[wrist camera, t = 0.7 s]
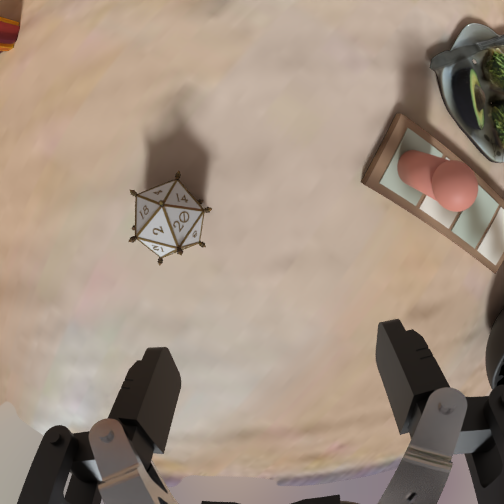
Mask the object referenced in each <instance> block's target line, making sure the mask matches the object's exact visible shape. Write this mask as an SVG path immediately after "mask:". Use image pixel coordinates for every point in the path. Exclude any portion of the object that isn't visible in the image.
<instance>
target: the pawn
mask: <svg viewBox="0 0 504 504" xmlns="http://www.w3.org/2000/svg"><path fill="white" fill-rule="evenodd" d="M397 171H398V175H399V177H400V179H401V180H402V181H403V182H404V183H405V184H407V185H409V186H411V187H413V188H414V189H416V190H418V191H420V192H422V193H424V194H425V195H427V196H429V197H431V198H432V199H434V200H436V201H437V202H438V203H439V204H440V205H441V206H442V207H444V208H445V209H447V210H449V211H453V212H460V211H464V210H466V209H468V208H469V207H470V206H471V205H472V204H473V203H474V201H475V200H476V197H477V194H478V182H477V178H476V176H475V174H474V172H473V171H472V169H471V168H470V167H469V166H468V165H466V164H465V163H463V162H460V161H456V160H447V159H444V158H441V157H437V156H434V155H431V154H427V153H424V152H420V151H417V150H409V151H406V152H405V153H403V154H402V156H401V157H400V158H399V161H398V165H397Z"/></svg>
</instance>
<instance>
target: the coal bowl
mask: <svg viewBox="0 0 504 504" xmlns="http://www.w3.org/2000/svg"><path fill="white" fill-rule="evenodd" d="M486 371H487V376H488V380H489V383H490V386H491V388H492V390H493V389H494V388H495V387H497V386H499V385H504V309H503V310H502V312H501V313H500V314H499V316H498V318H497V319H496V321H495V323H494V325H493V327H492V329H491V332H490V335H489V338H488V342H487V347H486Z"/></svg>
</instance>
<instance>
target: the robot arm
mask: <svg viewBox="0 0 504 504" xmlns="http://www.w3.org/2000/svg"><path fill="white" fill-rule="evenodd" d="M376 363H377V367H378V370H379V373H380V376H381V378H382V381H383V384H384V387H385V390H386V393H387V396H388V399H389V402H390V405H391V408H392V411H393V414H394V417H395V420H396V423H397V426H398V430H399V433H400V435H401V434H405V433H408V432H409V433H410V436H411V442H410V444H409V446H408V448H407V450H406V452H405V454H404V456H403V458H402V460H401V462H400V464H399V466H398V468H397V470H396V472H395V474H394V476H393V478H392V480H391V481H390V483H389V485H388V487H387V488H386V490H385V492H384V494H383V495H382V497H381V499H380V500H379V502H378V504H437V502H438V500H439V497H440V495H441V493H442V491H443V488H444V486H445V483H446V481H447V479H448V476H449V473H450V471H451V468H452V462H451V459H452V456H453V454H465V457H466V460H467V463H468V467H469V470H470V474H471V477H472V481H473V484H474V489H475V493H476V496H477V501H478V504H504V385H499V386H497V387H495V388H494V389H493V390H492V392H491V393H490V395H489V396H483V397H465V396H464V395H463V394H462V393H461V392H460V391H459V390H457V389H454V388H450V386H449V384H448V382H447V380H446V379H445V377H444V375H443V373H442V371H441V369H440V367H439V365H438V363H437V362H436V360H435V358H434V357H433V354H432V352H431V351H430V349H428V345H427V344H426V342H425V340H424V338H423V337H422V336H421V335H420V334H418V333H417V332H416V331H414V330H413V329H412V330H408V331H406V330H405V329H404V327H403V325H402V323H401V321H400V320H399V319H395V320H390V321H385V322H380V323H379V325H378V334H377V344H376ZM180 389H181V377H180V373H179V371H178V369H177V367H176V365H175V362H174V360H173V358H172V356H171V354H170V351H169V349H168V348H167V347H155V348H147V350H146V352H145V354H144V356H143V358H142V360H138V361H137V362H136V363H135V364H134V365H133V366H132V367H131V368H130V369H129V371H128V373H127V375H126V377H125V381H124V382H123V384H122V386H121V389H120V391H119V393H118V396H117V398H116V400H115V403H114V405H113V407H112V410H111V412H110V414H109V417H108V419H103V420H100V421H98V422H97V423H96V424H94V425H93V427H92V428H91V430H90V431H88V432H81V433H74V434H72V433H71V432H70V430H69V429H68V428H66V427H65V426H62V425H58V426H54V427H52V428H50V429H49V430H48V431H47V432H46V433H45V435H44V436H43V439H42V441H41V444H40V446H39V448H38V450H37V453H36V455H35V457H34V460H33V462H32V465H31V467H30V470H29V473H28V475H27V478H26V481H25V483H24V485H23V488H22V491H21V494H20V497H19V499H18V502H17V504H100V503H101V499H103V502H104V504H179V503H178V502H177V501H176V500H175V499H174V497H173V496H172V494H171V493H170V491H169V489H168V488H167V486H166V484H165V482H164V481H163V479H162V477H161V476H160V474H159V472H158V470H157V468H156V467H155V465H154V463H153V461H152V460H151V459H152V455H153V453H157V454H164V451H165V447H166V443H167V439H168V435H169V431H170V427H171V423H172V419H173V415H174V412H175V408H176V404H177V400H178V396H179V393H180ZM69 472H71V473H72V476H71V479H70V482H69V486H68V489H67V492H66V495H65V498H64V495H63V491H64V487H65V484H66V481H67V478H68V474H69ZM201 504H238V503H235V502H210V501H202V503H201ZM291 504H358V503H354V502H348V501H340V495H333V496H327V497H320V498H312V499H305V500H301V501H298V502H295V503H291Z"/></svg>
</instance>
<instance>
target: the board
mask: <svg viewBox="0 0 504 504" xmlns="http://www.w3.org/2000/svg"><path fill="white" fill-rule="evenodd" d="M409 150H417V151H420V152H424V153H427V154H431V155H434V156H437V157H441V158H444V159H447V160H456V161H460V162H463V161H462V160H461V159H460V158H458V157H457V156H456V155H455V154H454V153H453V152H451V151H450V150H449V149H448V148H446V147H445V146H444V145H443V144H442V143H440V142H439V141H438V140H437V139H435V138H434V137H433V136H431V135H430V134H429V133H428V132H426V131H425V130H424V129H422V128H421V127H420V126H418V125H417V124H415V123H414V122H413V121H411V120H410V119H409V118H407V117H406V116H404V115H403V114H396V115H395V117H394V119H393V121H392V123H391V125H390V127H389V129H388V131H387V133H386V135H385V137H384V139H383V141H382V143H381V145H380V147H379V149H378V151H377V153H376V155H375V157H374V159H373V161H372V162H371V164H370V166H369V168H368V170H367V172H366V174H365V176H364V177H363V179H362V181H361V183H363V184H364V185H366V186H368V187H369V188H371V189H373V190H374V191H376V192H378V193H379V194H381V195H383V196H384V197H386V198H388V199H389V200H391V201H393V202H394V203H396V204H397V205H399V206H401V207H402V208H404V209H405V210H407V211H408V212H410V213H412V214H413V215H415V216H416V217H418V218H419V219H421V220H422V221H424V222H425V223H427V224H428V225H430V226H431V227H433V228H434V229H436V230H437V231H438V232H440V233H441V234H443V235H444V236H446V237H447V238H448V239H450V240H451V241H453V242H454V243H455V244H457V245H458V246H460V247H461V248H462V249H464V250H465V251H466V252H468V253H469V254H470V255H472V256H473V257H474V258H476V259H477V260H478V261H480V262H481V263H482V264H483V265H485V266H486V267H487V268H489V269H490V270H491V271H492V272H494V273H495V274H496V272H497V270H498V269H499V267H500V265H501V264H502V262H503V260H504V200H503V199H502V198H501V197H500V196H499V195H498V194H497V193H496V192H495V191H494V190H493V189H492V188H491V187H490V186H489V185H488V184H487V183H486V182H485V181H484V180H483V179H482V178H481V177H480V176H478V175H477V174H476V173H475V172H474V171H473V170H472V171H473V172H474V174H475V176H476V178H477V182H478V194H477V197H476V200H475V201H474V203H473V204H472V205H471V206H470V207H469V208H468V209H466V210H464V211H460V212H453V211H449V210H447V209H445V208H444V207H442V206H441V205H440V204H439V203H438V202H437V201H436V200H434V199H432V198H431V197H429V196H427V195H425V194H424V193H422V192H420V191H418V190H416V189H414V188H413V187H411V186H409V185H407V184H405V183H404V182H403V181H402V180H401V179H400V177H399V175H398V171H397V165H398V161H399V158H400V157H401V156H402V154H403V153H405V152H406V151H409ZM463 163H464V162H463Z"/></svg>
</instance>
